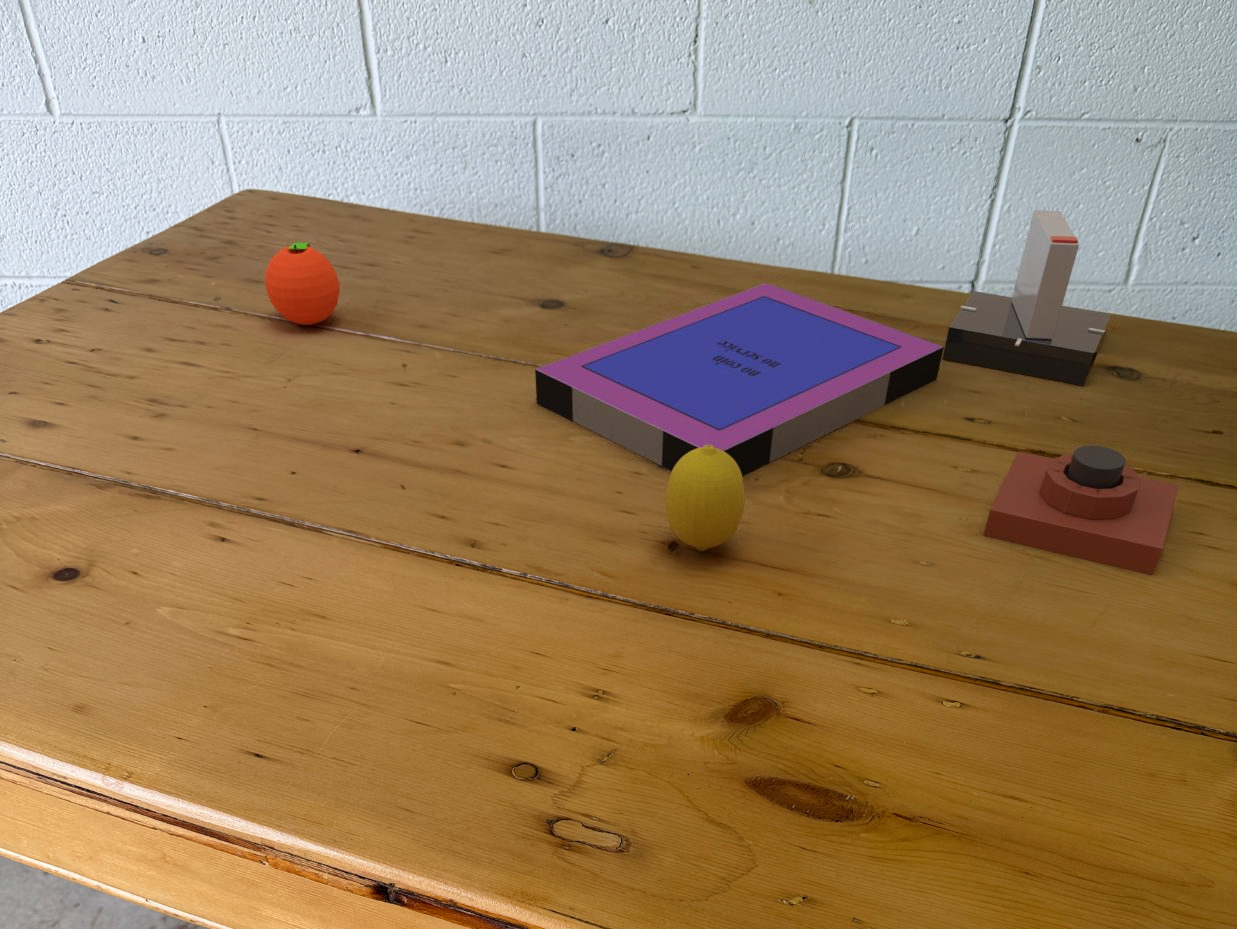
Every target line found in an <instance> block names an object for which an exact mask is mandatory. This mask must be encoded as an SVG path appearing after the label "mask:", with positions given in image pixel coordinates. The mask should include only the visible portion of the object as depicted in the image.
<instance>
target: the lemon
mask: <svg viewBox="0 0 1237 929" xmlns="http://www.w3.org/2000/svg"><path fill="white" fill-rule="evenodd" d="M670 472H671V473H670V475H669V478H668V481H667V482H668V483H667V487H666V492H665V498H664V502H665V504H664V505H665V513H666V517H667V522H668V524H669V527H670V529H671V531H672V532H673V533H674V534H675V536H676V537H677V538H678V540H680V541H681V542H683V543H684V544H686V545H688V546H690V547H692V548H695V549H696V550H697V551H698V552H705V551H707V550H708V549H711V548H714V547H718V546H719V545H722V544H723V543H725V542H726V541H728V539H730V538H731V537H732V536H733V535H734V534H735V532H736V531H737V529H738V527H739V525H740V523H741V520H742V518H743V514H744V509H745V502H746V495H745V494H746V493H745V484H744V476H742V474H741V471H740V468H739V467H738V465H737V463H736V462H735V460H734V459H733V458H732V457H731V456H729V455H728V454H727V453H726V452H724V451H722V450H720V449H717V448H714V446H712V445H705V446H703V447H701V448H697V449H694V450H692V451H690V452H688V453H687V454H685V455H684V456H683V457H682V458H681V459H680V460H679V461H678V462H677V464H676V465H675V466H674V468H673V470H672V471H670Z"/></svg>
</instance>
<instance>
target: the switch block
mask: <svg viewBox="0 0 1237 929" xmlns="http://www.w3.org/2000/svg"><path fill="white" fill-rule="evenodd" d="M1072 457H1073V453H1066V454H1062V455H1060V456H1058V457H1054V458H1052V457H1047V456H1041V455H1037V454H1032V453H1028V452H1023V451H1017V452H1016V454H1015V456H1014V459H1013V461H1012V463H1011V465H1010V467H1009V469H1008V472H1007V474H1006V475H1005V478H1004V480H1003V482H1002V484H1001V486H1000V488H999V490H998V492H997V495H996V497H995V499H994V501H993V503H992V505H991V507H990V509H989V513H988V517H987V520H986V523H985V528H984V531H983V535H982V536H983V537H987V538H990V539H995V540H999V541H1004V542H1009V543H1013V544H1017V545H1021V546H1024V547H1025V546H1026V547H1029V548H1034V549H1038V550H1043V551H1047V552H1050V553H1056V554H1060V555H1063V556H1068V557H1073V558H1076V559H1080V560H1084V561H1089V562H1093V563H1098V564H1103V565H1105V566H1106V565H1107V566H1111V567H1115V568H1119V569H1123V570H1127V571H1131V572H1136V573H1140V574H1145V575H1148V576H1153V575H1154V574H1155V573H1154V572H1155V571H1156V567H1157V566H1158V562H1159V560H1160V558H1161V556H1162V552H1163V550H1164V547H1165V544H1166V543H1165V542H1166V538H1167V535H1168V531H1169V527H1170V524H1171V523H1170V522H1171V518H1172V516H1173V510H1174V506H1175V502H1176V498H1177V494H1178V491H1179V486H1180V485H1179V484H1177V483H1176V484H1175V483H1171V482H1166V481H1162V480H1161V481H1160V480H1156V479H1151V478H1147V477H1142V476H1140V475H1139V474H1138V473H1137V472H1136V470H1135V469H1133V467H1132V466H1130V465H1127V464H1125V466H1124V468H1123V471H1122V474H1121V477H1120V480H1119V482H1118V485H1117V486H1116V487H1115V488H1112V489H1094V488H1089V487H1085V486H1081V485H1079V484H1077V483H1075V482H1073V481H1071V480H1069V479H1068V478H1067V472H1068V469H1069V466H1070V463H1071V460H1072Z"/></svg>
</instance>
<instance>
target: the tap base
mask: <svg viewBox="0 0 1237 929" xmlns="http://www.w3.org/2000/svg"><path fill="white" fill-rule="evenodd" d="M1011 300H1012V296H1007V295H1000V294H994V293H988V292H982V291H976V290H973V292H972V293H971V295H970V296H969V297H968V299H967V300H966V302H965V303H964V304H963V305H961V306H960V311H959V312H958V313H957V315H956V316H955V318H954V319H953V321H952V322H951V323H950V325H949V327H948V331H947V334H946V340H945V345H944V348H943V353H942V357H941V360H943V361H944V360H946V361H950V362H956V363H961V364H966V365H972V366H977V367H981V368H987V369H993V370H997V371H1004V372H1007V373H1008V372H1009V373H1014V374H1018V375H1025V376H1030V377H1035V378H1041V379H1044V380H1045V379H1046V380H1050V381H1055V382H1062V383H1067V384H1072V385H1078V386H1082V387H1084V386H1085V385H1086V383H1087V380H1088V377H1089V375H1090V372H1091V370H1092V368H1093V365H1094V363H1095V361H1096V359H1097V356H1098V353H1099V352H1098V350H1099V348H1100V346H1101V344H1102V341H1103V339H1104V336H1105V334H1106V331H1107V328H1108V324H1109V322H1110V318H1111V316H1112V314H1111V313H1107V312H1102V311H1101V312H1100V311H1097V310H1096V311H1095V310H1089V309H1083V308H1077V307H1071V306H1066V305H1062V308H1061V311H1060V315H1059V318H1058V322H1057V326H1056V329H1055V333H1054V336H1053V339H1038V338H1026V336H1025V334H1024V331H1023V329H1022V326H1021V324H1020V321H1019V319H1018V316H1017V314H1016V311H1015V309H1014V306H1013V304H1012V301H1011Z"/></svg>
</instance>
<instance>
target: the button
mask: <svg viewBox="0 0 1237 929" xmlns="http://www.w3.org/2000/svg"><path fill="white" fill-rule="evenodd" d="M1072 454H1073V457H1072V460H1071V463H1070V466H1069V469H1068V472H1067V478H1068V479H1069V480H1071V481H1073V482H1075V483H1077V484H1079V485H1081V486H1085V487H1089V488H1094V489H1112V488H1115V487H1116V486H1117V485H1118V482H1119V480H1120V477H1121V474H1122V471H1123V468H1124V466H1125V465H1126V463H1127V462H1126V458H1125V456H1124V455H1123V454H1122V453H1121V452H1119V451H1117V450H1115V449H1112V448H1110V447H1106V446H1102V445H1083V446H1080V447H1078V448H1076V449H1075V450H1074V451H1073V453H1072Z"/></svg>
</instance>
